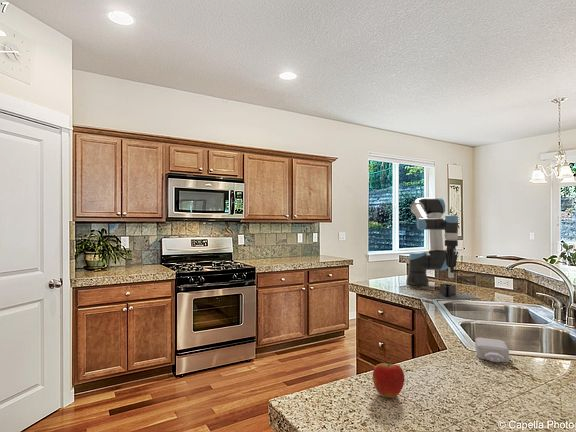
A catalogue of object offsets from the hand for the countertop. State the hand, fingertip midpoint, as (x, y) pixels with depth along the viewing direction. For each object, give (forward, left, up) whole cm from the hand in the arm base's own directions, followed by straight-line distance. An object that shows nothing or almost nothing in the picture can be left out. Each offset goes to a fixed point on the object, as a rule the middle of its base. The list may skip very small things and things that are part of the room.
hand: (451, 277), depth 229 cm
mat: (+6, 0, -11) cm, 12 cm away
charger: (+103, -38, -11) cm, 110 cm away
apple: (+127, -82, -11) cm, 152 cm away
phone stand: (-1, -1, -7) cm, 7 cm away
